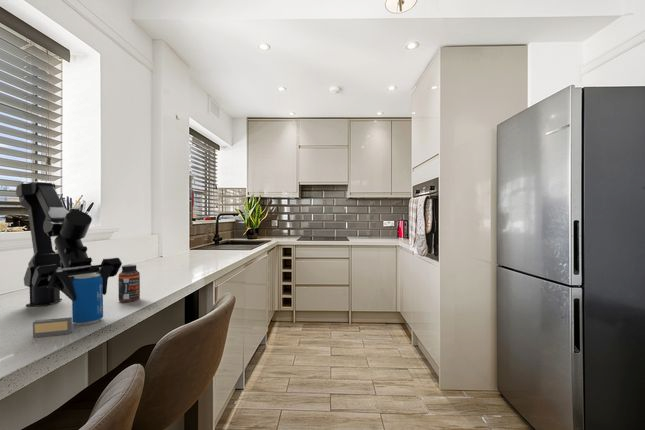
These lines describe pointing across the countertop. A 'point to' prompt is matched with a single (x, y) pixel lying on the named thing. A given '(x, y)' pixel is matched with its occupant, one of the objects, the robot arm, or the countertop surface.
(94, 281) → the beverage can
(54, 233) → the robot arm
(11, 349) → the countertop surface
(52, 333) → the rail
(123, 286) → the supplement bottle
